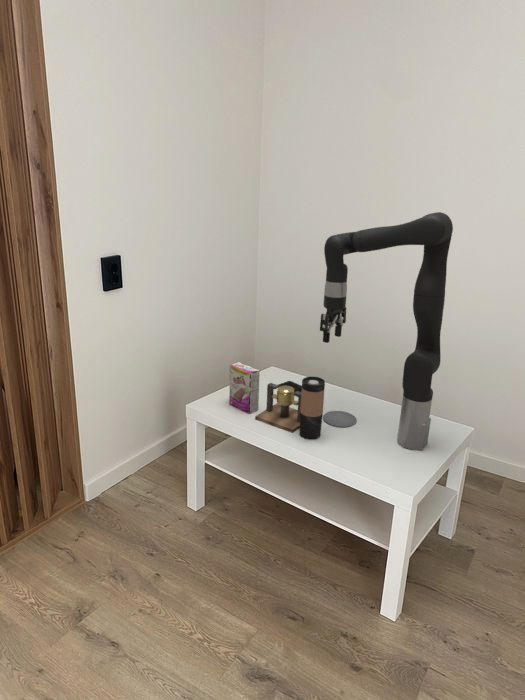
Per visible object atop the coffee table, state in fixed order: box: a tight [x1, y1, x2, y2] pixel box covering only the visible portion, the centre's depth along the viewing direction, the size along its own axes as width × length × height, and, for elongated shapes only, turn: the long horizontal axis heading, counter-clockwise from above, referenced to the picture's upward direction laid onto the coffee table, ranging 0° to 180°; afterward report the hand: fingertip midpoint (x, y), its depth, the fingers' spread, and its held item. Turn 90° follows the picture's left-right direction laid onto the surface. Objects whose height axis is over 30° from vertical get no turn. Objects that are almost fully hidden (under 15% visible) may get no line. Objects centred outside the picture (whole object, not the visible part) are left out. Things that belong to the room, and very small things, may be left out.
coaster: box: [322, 410, 357, 429], centre depth 200 cm, size 12×12×1 cm
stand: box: [254, 382, 301, 433], centre depth 197 cm, size 16×14×12 cm
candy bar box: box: [228, 361, 260, 415], centre depth 204 cm, size 11×5×16 cm, turn 46°
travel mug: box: [299, 376, 326, 440], centre depth 185 cm, size 8×8×20 cm
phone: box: [277, 380, 302, 393], centre depth 223 cm, size 8×1×15 cm
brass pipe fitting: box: [272, 386, 298, 407], centre depth 196 cm, size 11×6×5 cm, turn 55°
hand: (332, 339), depth 192 cm, fingers open, 8 cm apart
